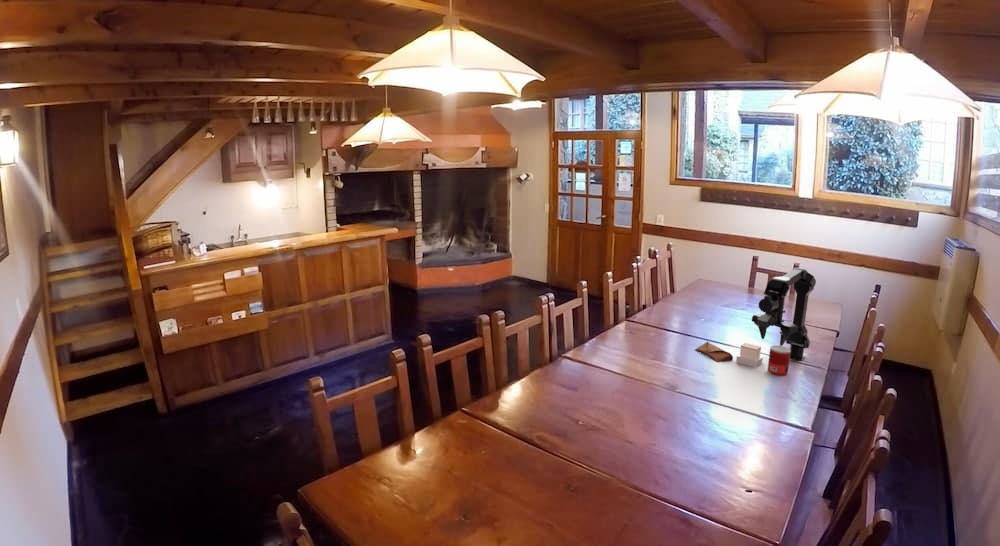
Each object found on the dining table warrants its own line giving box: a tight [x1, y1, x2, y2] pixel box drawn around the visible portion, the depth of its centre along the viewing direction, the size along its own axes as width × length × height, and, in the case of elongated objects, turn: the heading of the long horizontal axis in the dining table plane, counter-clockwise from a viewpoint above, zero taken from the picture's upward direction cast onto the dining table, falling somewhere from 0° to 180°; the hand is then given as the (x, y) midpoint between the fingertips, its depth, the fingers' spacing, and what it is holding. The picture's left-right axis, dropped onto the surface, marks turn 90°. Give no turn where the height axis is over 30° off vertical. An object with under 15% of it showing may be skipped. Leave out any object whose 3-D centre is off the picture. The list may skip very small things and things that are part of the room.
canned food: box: [767, 345, 791, 377], centre depth 256 cm, size 8×8×11 cm
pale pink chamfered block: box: [735, 353, 764, 369], centre depth 267 cm, size 7×9×3 cm
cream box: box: [739, 342, 762, 360], centre depth 266 cm, size 5×7×5 cm
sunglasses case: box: [695, 341, 734, 363], centre depth 277 cm, size 18×7×7 cm, turn 21°
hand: (771, 342), depth 254 cm, fingers open, 9 cm apart
